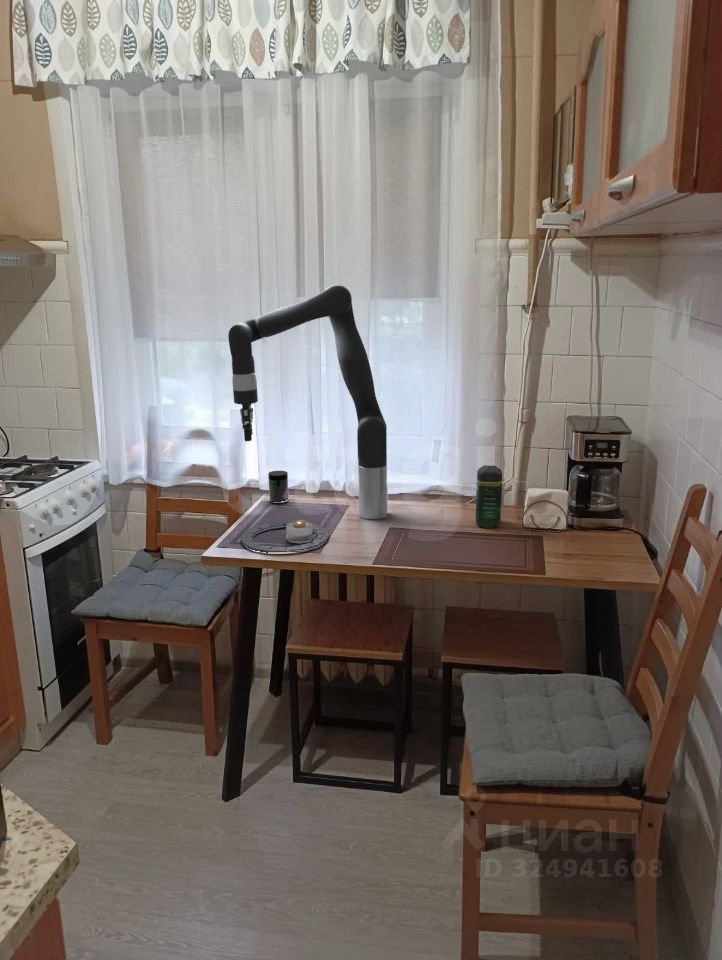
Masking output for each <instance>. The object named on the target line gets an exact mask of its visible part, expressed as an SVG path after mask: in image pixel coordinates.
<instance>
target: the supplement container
mask: <svg viewBox="0 0 722 960" xmlns="http://www.w3.org/2000/svg"><path fill="white" fill-rule="evenodd" d="M267 474H268V475H267V476H268V478H267V479H268V494H269V495H268V496H269V501H272V502H281V501H286V500H288V498H289V479H288V478H289V476H288V471H285V470H272V471H268V473H267ZM288 501H289V500H288Z"/></svg>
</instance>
